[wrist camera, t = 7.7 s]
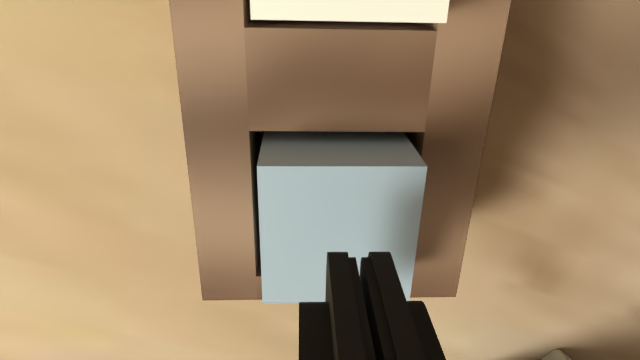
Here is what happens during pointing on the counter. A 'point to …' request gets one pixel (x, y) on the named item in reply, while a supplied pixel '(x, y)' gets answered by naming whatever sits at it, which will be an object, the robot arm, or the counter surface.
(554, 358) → the grey rock
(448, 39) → the frame
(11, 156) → the counter surface
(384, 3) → the white key
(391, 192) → the blue key
